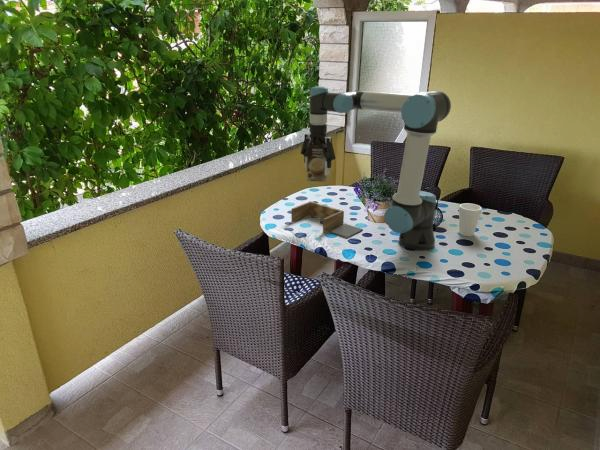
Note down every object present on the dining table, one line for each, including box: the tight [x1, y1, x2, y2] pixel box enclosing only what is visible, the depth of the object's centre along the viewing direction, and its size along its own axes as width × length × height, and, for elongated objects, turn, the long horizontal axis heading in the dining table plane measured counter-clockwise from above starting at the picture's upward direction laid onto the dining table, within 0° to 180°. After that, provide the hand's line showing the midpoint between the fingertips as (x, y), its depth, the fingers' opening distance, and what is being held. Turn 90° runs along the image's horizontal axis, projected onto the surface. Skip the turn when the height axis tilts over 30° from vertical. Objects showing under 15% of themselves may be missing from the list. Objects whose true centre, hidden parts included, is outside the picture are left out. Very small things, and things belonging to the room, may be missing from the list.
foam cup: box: [458, 202, 483, 237], centre depth 205 cm, size 10×9×13 cm
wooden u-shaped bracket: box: [290, 200, 345, 234], centre depth 216 cm, size 20×14×7 cm
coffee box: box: [306, 144, 328, 183], centre depth 205 cm, size 9×6×16 cm
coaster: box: [329, 223, 364, 239], centre depth 208 cm, size 10×12×1 cm
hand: (317, 172), depth 207 cm, fingers closed on coffee box, 11 cm apart
